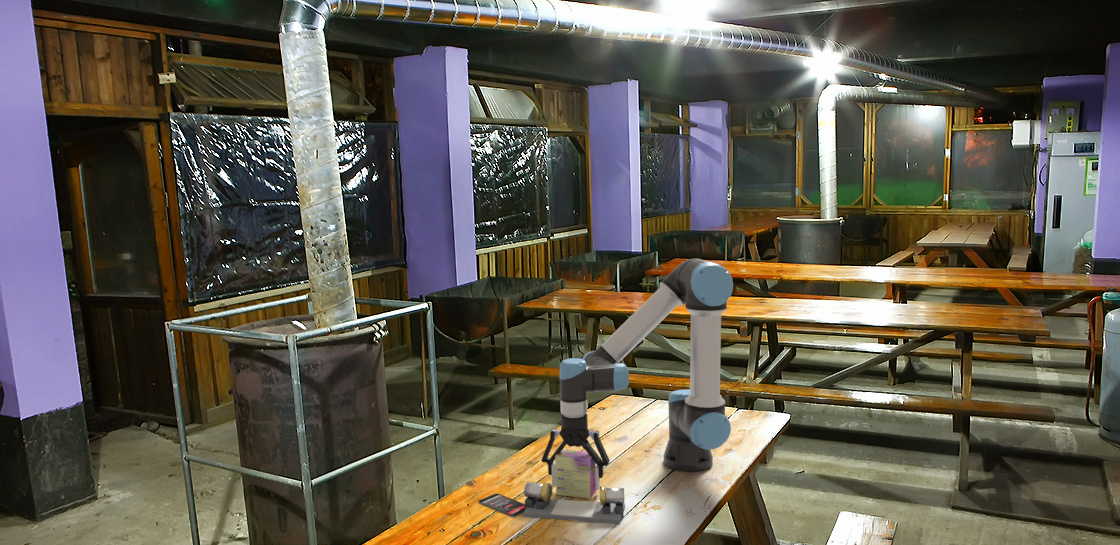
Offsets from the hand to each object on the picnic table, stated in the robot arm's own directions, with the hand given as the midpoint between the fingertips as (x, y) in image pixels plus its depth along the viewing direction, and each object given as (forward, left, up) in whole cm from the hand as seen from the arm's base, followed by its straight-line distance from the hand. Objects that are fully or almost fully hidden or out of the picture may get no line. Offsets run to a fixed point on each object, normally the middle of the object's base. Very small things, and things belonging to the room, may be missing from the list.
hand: (576, 486), depth 218 cm
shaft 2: (-12, +11, -2) cm, 17 cm away
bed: (-2, +12, -2) cm, 12 cm away
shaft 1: (+8, +11, -2) cm, 14 cm away
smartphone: (+18, +11, -2) cm, 21 cm away
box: (0, 0, -2) cm, 2 cm away
